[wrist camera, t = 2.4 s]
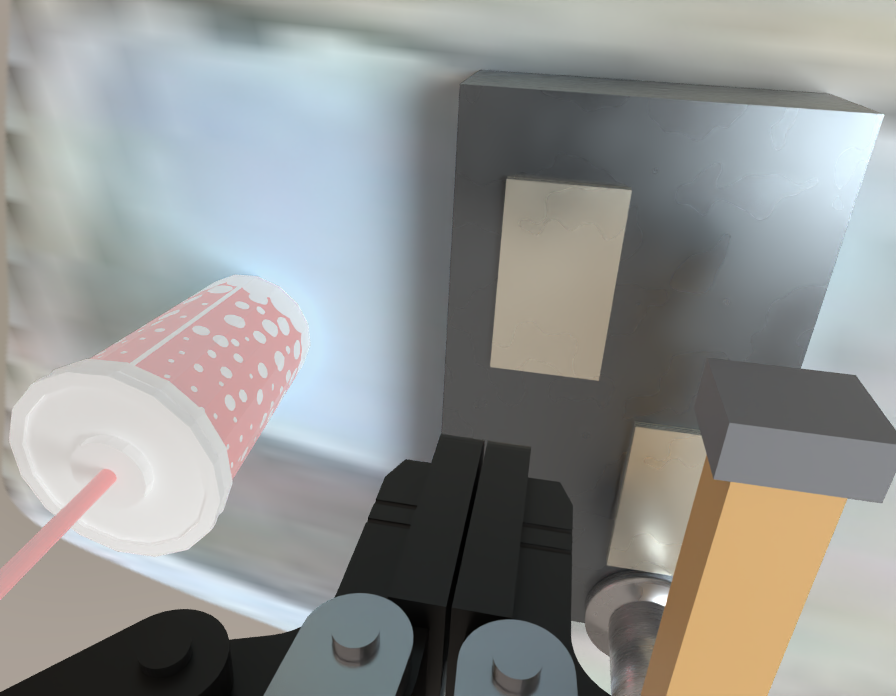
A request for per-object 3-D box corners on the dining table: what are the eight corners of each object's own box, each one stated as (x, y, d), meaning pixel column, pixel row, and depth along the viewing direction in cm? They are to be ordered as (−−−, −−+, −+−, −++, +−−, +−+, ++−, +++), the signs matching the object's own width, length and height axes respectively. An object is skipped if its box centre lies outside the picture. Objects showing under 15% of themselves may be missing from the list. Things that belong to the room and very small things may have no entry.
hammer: (685, 354, 14) (705, 419, 12) (877, 377, 13) (933, 449, 11) (584, 783, 20) (584, 874, 18) (708, 809, 20) (723, 904, 18)
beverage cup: (178, 375, 28) (-139, 670, 16) (179, 236, 25) (-208, 464, 13) (320, 414, 28) (110, 747, 15) (339, 278, 25) (97, 554, 12)
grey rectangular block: (480, 69, 21) (412, 115, 12) (829, 93, 19) (1013, 163, 11) (450, 542, 29) (398, 753, 21) (688, 580, 28) (732, 821, 20)
